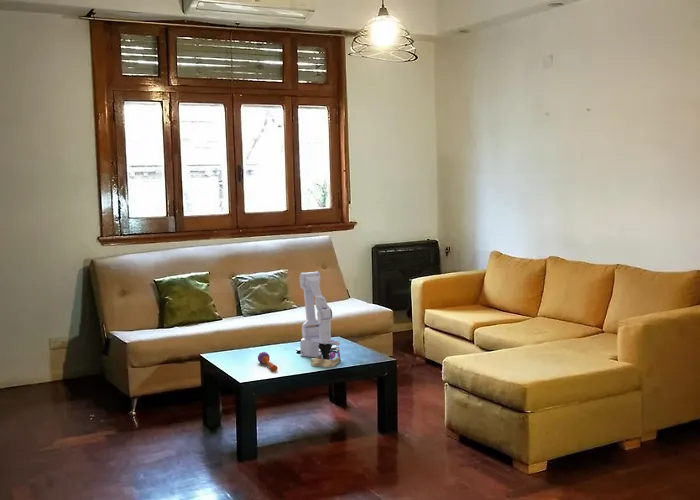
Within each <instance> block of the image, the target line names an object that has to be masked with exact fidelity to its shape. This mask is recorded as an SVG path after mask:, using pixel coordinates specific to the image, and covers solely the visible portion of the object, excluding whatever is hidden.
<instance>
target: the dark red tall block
mask: <svg viewBox="0 0 700 500" xmlns="http://www.w3.org/2000/svg"><path fill="white" fill-rule="evenodd" d="M335 351H336V352H335ZM336 357H340V358H341V354H340V347H337V346H336V347H331V349H330V352H329V357H328V359H326V358H325V359H326V360H334V359H335V358H336Z"/></svg>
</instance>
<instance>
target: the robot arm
mask: <svg viewBox="0 0 700 500" xmlns="http://www.w3.org/2000/svg"><path fill="white" fill-rule="evenodd" d="M320 283H321V273H320V272H319V271H309V272H300V274H299V286H300V289H302V290H303V297H304V308H305V318H306V320H305V321H304V322H303V323H302V324H301V336H302V338H301V340H300V354H299V355H300V356H301V357H310V358H316V357H318V356H319V355H322V359H325V358H326V359H328V357H329V354H330V353H331V348H333V346H336V347H337V346H340V340H334V339H332V333H331V332H332V329H331V327H332V326H331V325H332V324H331V322H332V321H331V320H332V319H333V310H332V308H331V307H330V306H328V303H327V300H326V296H324V295H322V291H321V286H320ZM315 310H316V311H317V312H316V311H315ZM316 313H317V314H316ZM316 316H317V317H316Z"/></svg>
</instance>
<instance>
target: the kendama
mask: <svg viewBox="0 0 700 500" xmlns="http://www.w3.org/2000/svg"><path fill="white" fill-rule="evenodd" d="M257 360H258V361H257V362H259V364H261V365H267V366H268V367H269V368H270V370H271V372H277V371H278V366H277V365H276V364H274V363H273V362H271V361H270V360H271V359H270V354H269V353H267V352H266V351H262V352H260V353H259V354H258V356H257Z"/></svg>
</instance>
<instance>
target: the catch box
mask: <svg viewBox="0 0 700 500" xmlns="http://www.w3.org/2000/svg"><path fill="white" fill-rule="evenodd" d="M340 362H341V356H340V357H338V356H336V357H335V358H333V359H330V360H326V359H323V357H322V354H321V355H319V356H317V357H310V366H311V367H320V366H323V367H324V368H333V367H334V366H336V365H337V364H339V363H340ZM332 366H333V367H332ZM323 367H322V368H323Z"/></svg>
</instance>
